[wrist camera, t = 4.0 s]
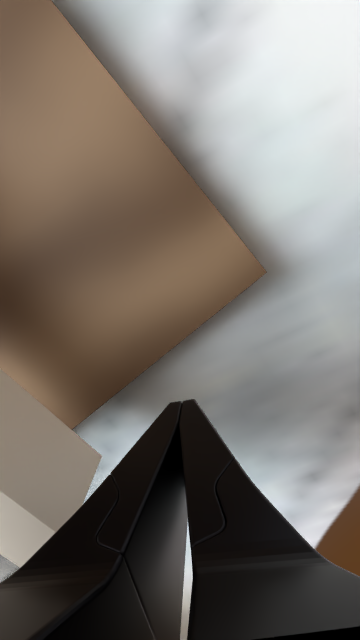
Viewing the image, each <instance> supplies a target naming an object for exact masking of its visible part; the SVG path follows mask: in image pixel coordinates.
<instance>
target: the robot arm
mask: <svg viewBox="0 0 360 640" xmlns="http://www.w3.org/2000/svg"><path fill="white" fill-rule="evenodd" d="M187 520H188V525H189V535H190V546H191V556H192V571H193V582H192V593H191V604H190V614H189V625H188V636H187V640H360V577H359V576H357V575H355V574H353V573H351V572H349V571H347V570H344V569H343V568H341V567H339V566H336V565H335V564H333V563H331V562H330V561H328V560H327V559H326V558H324V557H323V556H322V555H320V554H319V553H318V552H317V551H316V550H315V549H314V548H313V547H311V546H310V544H309V543H308V542H307V541H306V540H305V539H304V538H303V537H302V536H301V535H300V534H299V533H298V532H297V531H296V530H295V529H294V527H293V526H292V525H291V524H290V523H289V522H288V521H287V520H286V519H285V518H284V517H283V516H282V514H281V513H280V512H279V511H278V510H277V509H276V508H275V507H274V506H273V505H272V504H271V503H270V502H269V500H268V499H267V498H266V497H265V496H264V495H263V494H262V493H261V491H260V490H259V489H258V488H257V487H256V486H255V484H254V483H253V482H252V481H251V479H250V478H249V477H248V475H247V474H246V473H245V471H244V470H243V469H242V467H241V466H240V464H239V463H238V461H237V460H236V459H235V457H234V456H233V454H232V453H231V451H230V450H229V449H228V447H227V446H226V444H225V443H224V441H223V440H222V438H221V437H220V435H219V434H218V433H217V431H216V430H215V428H214V427H213V425H212V424H211V422H210V421H209V419H208V418H207V417H206V415H205V414H204V412H203V411H202V409H201V408H200V406H199V405H198V403H197V402H196V401H195V400H194V399H191V400H185V401H183V402H181V401H178V402H171V403H169V405H168V406H167V407H166V408H165V409H164V410H163V412H162V413H161V414H160V415H159V416H158V418H157V419H156V420H155V421H154V422H153V423H152V425H151V426H150V427H149V428H148V429H147V431H146V432H145V433H144V434H143V435H142V436H141V438H140V439H139V440H138V441H137V442H136V444H135V445H134V446H133V447H132V448H131V450H130V451H129V452H128V453H127V454H126V455H125V457H124V458H123V459H122V460H121V461H120V463H119V464H118V465H117V466H116V467H115V468H114V470H113V471H112V472H111V475H108V477H107V478H106V479H105V480H104V481H103V483H102V484H101V485H100V486H99V487H98V488H97V489H96V491H95V492H94V493H93V494H92V495H91V496H90V497H89V498H88V500H87V501H86V502H85V503H84V504H83V505H82V506H81V507H80V508H79V509H78V510H77V511H76V512H75V513H74V514H73V515H72V516H71V517H70V518H69V519H68V520H67V521H66V522H65V523H64V524H63V525H62V526H61V527H60V528H59V529H58V531H57V532H56V533H55V534H54V535H53V536H52V537H51V538H50V539H49V540H48V541H47V542H46V543H45V544H44V545H43V546H42V547H41V548H40V549H39V550H38V551H37V552H36V553H35V554H34V555H33V556H32V557H31V558H30V559H29V560H28V561H27V562H26V563H25V564H24V565H23V566H21V567H20V568H19V569H18V570H17V571H16V572H15V573H14V574H12V575H11V576H10V577H9V578H7V579H5V580H4V581H2V582H1V583H0V640H180V627H181V612H182V597H183V581H184V566H185V551H186V535H187Z"/></svg>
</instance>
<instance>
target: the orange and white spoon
mask: <svg viewBox="0 0 360 640" xmlns="http://www.w3.org/2000/svg"><path fill="white" fill-rule="evenodd" d="M101 458H102V455H100V454H99V453H98V452H97V451H96V450H95V449H93V448H92V447H91V446H90V445H89V444H88V443H86V442H85V441H84V440H83V439H82V438H81V437H79V436H78V435H77V434H76V433H75V432H74V431H72V430H71V429H70V428H69V427H68V426H67V425H65V424H64V423H63V422H62V421H61V420H60V419H58V418H57V417H56V416H55V415H54V414H53V413H51V412H50V411H49V410H48V409H47V408H46V407H44V406H43V405H42V404H41V403H40V402H39V401H37V400H36V399H35V398H34V397H33V396H32V395H30V394H29V393H28V392H27V391H26V390H25V389H23V388H22V387H21V386H20V385H19V384H18V383H16V382H15V381H14V380H13V379H12V378H11V377H9V376H8V375H7V374H6V373H5V372H4V371H2V370H1V369H0V554H1V555H2V556H3V557H5V558H6V559H8V560H9V561H11V562H12V563H14V564H15V565H17V566H18V567H21V566H23V565H24V564H25V563H26V562H27V561H28V560H29V559H30V558H31V557H32V556H33V555H34V554H35V553H36V552H37V551H38V550H39V549H40V548H41V547H42V546H43V545H44V544H45V543H46V542H47V541H48V540H49V539H50V538H51V537H52V536H53V535H54V534H55V533H56V532H57V531H58V529H59V528H60V527H61V526H62V525H63V524H64V523H65V522H66V521H67V520H68V519H69V518H70V517H71V516H72V515H73V514H74V513H75V512H76V511H77V510H78V509H79V508H80V507H81V506H82V504H83V502H84V499H85V497H86V495H87V492H88V490H89V487H90V485H91V482H92V480H93V477H94V475H95V472H96V470H97V467H98V465H99V462H100V460H101Z"/></svg>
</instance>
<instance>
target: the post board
mask: <svg viewBox="0 0 360 640" xmlns="http://www.w3.org/2000/svg"><path fill="white" fill-rule="evenodd" d="M265 273H267V272H266V270H265V269H264V268H263V267H262V265H261V264H260V263H259V262H258V260H257V259H256V258H255V257H254V255H253V254H252V253H251V252H250V250H249V249H248V248H247V247H246V245H245V244H244V243H243V241H242V240H241V239H240V238H239V236H238V235H237V234H236V233H235V231H234V230H233V229H232V228H231V226H230V225H229V224H228V223H227V221H226V220H225V219H224V218H223V216H222V215H221V214H220V212H219V211H218V210H217V209H216V207H215V206H214V205H213V204H212V202H211V201H210V200H209V199H208V197H207V196H206V195H205V194H204V192H203V191H202V190H201V189H200V187H199V186H198V185H197V183H196V182H195V181H194V180H193V178H192V177H191V176H190V175H189V173H188V172H187V171H186V170H185V168H184V167H183V166H182V165H181V163H180V162H179V161H178V160H177V158H176V157H175V156H174V155H173V153H172V152H171V151H170V149H169V148H168V147H167V146H166V144H165V143H164V142H163V141H162V139H161V138H160V137H159V136H158V134H157V133H156V132H155V131H154V129H153V128H152V127H151V126H150V124H149V123H148V122H147V120H146V119H145V118H144V117H143V115H142V114H141V113H140V112H139V110H138V109H137V108H136V107H135V105H134V104H133V103H132V102H131V100H130V99H129V98H128V97H127V95H126V94H125V93H124V92H123V90H122V89H121V88H120V86H119V85H118V84H117V83H116V81H115V80H114V79H113V78H112V76H111V75H110V74H109V73H108V71H107V70H106V69H105V68H104V66H103V65H102V64H101V63H100V61H99V60H98V59H97V57H96V56H95V55H94V54H93V52H92V51H91V50H90V49H89V47H88V46H87V45H86V44H85V42H84V41H83V40H82V39H81V37H80V36H79V35H78V34H77V32H76V31H75V30H74V28H73V27H72V26H71V25H70V23H69V22H68V21H67V20H66V18H65V17H64V16H63V15H62V13H61V12H60V11H59V10H58V8H57V7H56V6H55V5H54V3H53V2H52V1H51V0H0V369H1V370H2V371H4V372H5V373H6V374H7V375H8V376H9V377H11V378H12V379H13V380H14V381H15V382H16V383H18V384H19V385H20V386H21V387H22V388H23V389H25V390H26V391H27V392H28V393H29V394H30V395H32V396H33V397H34V398H35V399H36V400H37V401H39V402H40V403H41V404H42V405H43V406H44V407H46V408H47V409H48V410H49V411H50V412H51V413H53V414H54V415H55V416H56V417H57V418H58V419H60V420H61V421H62V422H63V423H64V424H65V425H67V426H68V427H69V428H70V429H71V430H72V429H73V428H74V427H76V426H77V425H78V424H79V423H81V422H82V421H83V420H84V419H86V418H87V417H88V416H89V415H91V414H92V413H93V412H94V411H96V410H97V409H98V408H99V407H100V406H102V405H103V404H104V403H105V402H107V401H108V400H109V399H110V398H112V397H113V396H114V395H115V394H117V393H118V392H119V391H120V390H122V389H123V388H124V387H125V386H127V385H128V384H129V383H130V382H131V381H133V380H134V379H135V378H136V377H138V376H139V375H140V374H141V373H143V372H144V371H145V370H146V369H148V368H149V367H150V366H151V365H153V364H154V363H155V362H156V361H158V360H159V359H160V358H161V357H162V356H164V355H165V354H166V353H167V352H169V351H170V350H171V349H172V348H174V347H175V346H176V345H177V344H179V343H180V342H181V341H182V340H184V339H185V338H186V337H187V336H188V335H190V334H191V333H192V332H193V331H195V330H196V329H197V328H198V327H200V326H201V325H202V324H203V323H205V322H206V321H207V320H208V319H210V318H211V317H212V316H213V315H215V314H216V313H217V312H218V311H219V310H221V309H222V308H223V307H224V306H226V305H227V304H228V303H229V302H231V301H232V300H233V299H234V298H236V297H237V296H238V295H239V294H241V293H242V292H243V291H244V290H245V289H247V288H248V287H249V286H250V285H252V284H253V283H254V282H255V281H257V280H258V279H259V278H260V277H262V276H263V275H264V274H265Z"/></svg>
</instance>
